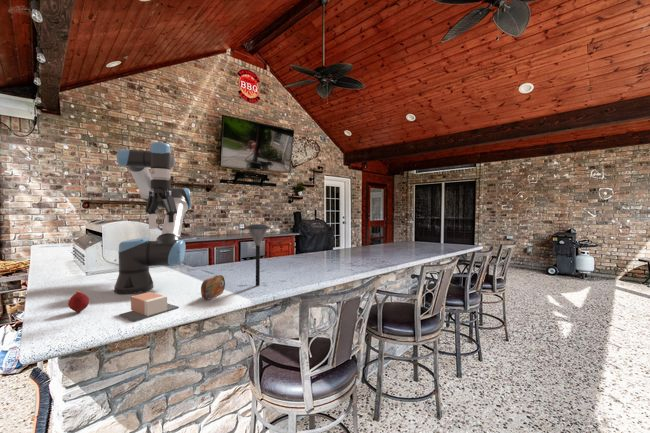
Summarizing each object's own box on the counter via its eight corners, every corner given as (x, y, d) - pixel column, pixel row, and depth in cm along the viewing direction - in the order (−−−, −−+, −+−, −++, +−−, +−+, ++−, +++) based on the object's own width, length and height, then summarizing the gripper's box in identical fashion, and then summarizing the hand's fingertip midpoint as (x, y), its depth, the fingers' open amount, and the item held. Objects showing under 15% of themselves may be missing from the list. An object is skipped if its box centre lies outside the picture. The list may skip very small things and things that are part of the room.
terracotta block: (130, 296, 110) (147, 301, 104) (150, 291, 116) (167, 296, 110) (131, 310, 110) (147, 316, 104) (150, 304, 116) (167, 310, 110)
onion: (89, 308, 112) (88, 287, 112) (89, 313, 108) (89, 290, 108) (68, 311, 109) (68, 290, 108) (68, 316, 104) (67, 293, 104)
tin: (206, 302, 122) (206, 281, 122) (199, 301, 122) (199, 281, 122) (225, 291, 137) (225, 273, 136) (219, 291, 137) (219, 272, 137)
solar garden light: (259, 290, 139) (259, 225, 138) (239, 286, 145) (239, 224, 144) (275, 284, 150) (275, 224, 149) (256, 281, 156) (256, 223, 154)
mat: (119, 315, 106) (119, 314, 106) (163, 303, 119) (163, 302, 119) (134, 321, 100) (134, 320, 100) (178, 308, 114) (178, 306, 114)
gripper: (136, 179, 131) (136, 228, 132) (169, 177, 119) (169, 231, 120) (153, 181, 138) (153, 227, 139) (186, 179, 125) (186, 230, 126)
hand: (160, 229), depth 129 cm, fingers open, 12 cm apart
